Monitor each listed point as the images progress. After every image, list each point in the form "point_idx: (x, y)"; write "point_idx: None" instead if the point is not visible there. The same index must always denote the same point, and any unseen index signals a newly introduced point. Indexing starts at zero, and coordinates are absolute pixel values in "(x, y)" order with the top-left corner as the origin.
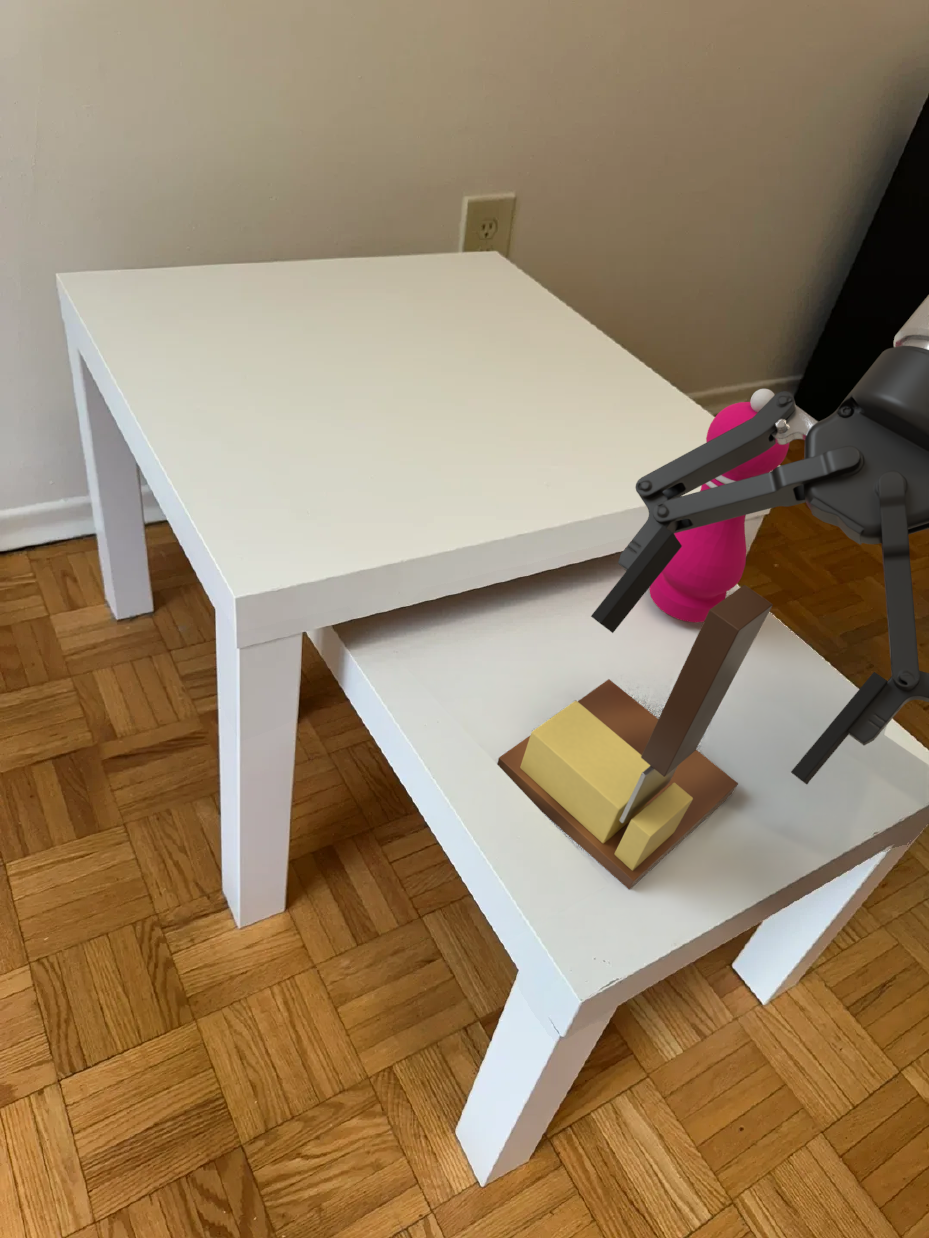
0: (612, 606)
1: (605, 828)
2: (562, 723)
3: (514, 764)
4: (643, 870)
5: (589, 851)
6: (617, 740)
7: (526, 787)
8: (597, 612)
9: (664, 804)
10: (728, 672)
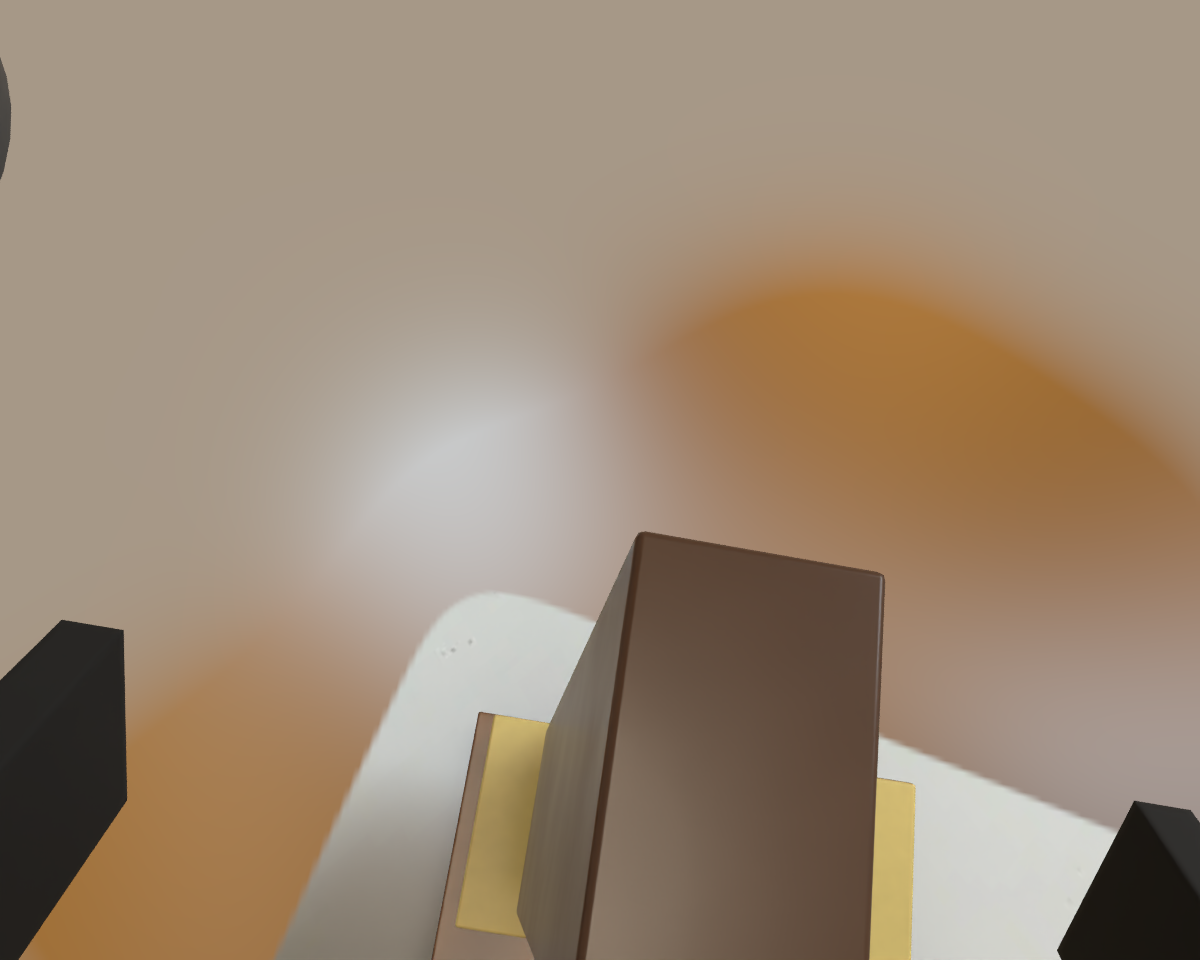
0: (1189, 872)
1: None
2: (878, 878)
3: None
4: (473, 755)
5: None
6: None
7: None
8: (1193, 830)
9: (512, 839)
10: (558, 808)
